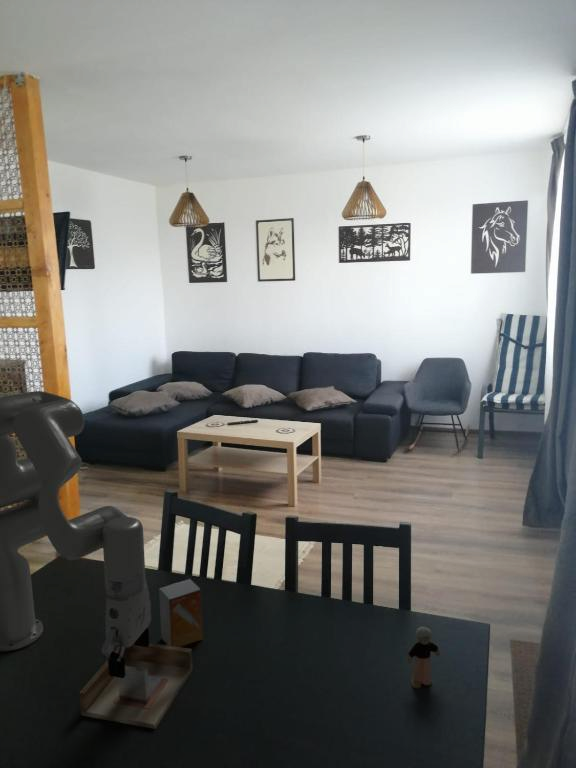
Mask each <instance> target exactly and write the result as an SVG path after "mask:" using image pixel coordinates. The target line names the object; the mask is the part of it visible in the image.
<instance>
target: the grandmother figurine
mask: <svg viewBox="0 0 576 768" xmlns="http://www.w3.org/2000/svg"><path fill="white" fill-rule="evenodd" d="M415 637H416V639H417V640H418V642H416V643H415V644H414V645H413V646H412V648H411V649H410V651H409V652H408V654H407V656H406V658H405V664H410V663H411V661H412V659H413V658H414V662H413V669H412V677H411V681H410V682H411V686H412V688H414V689H420V688H422V685H424V686H432V684H433V682H432V680H431V658H432V657H431V652H432V653H434V655H435V656H436V657H439V656H441V655H440V654H441V653H440V651H439V647H438V645H436V644H435V643H434V642H431V638H432V637H433V632H432V630H431V629H430V628H428V627H426V626H420V627H418V628H417V629H416V631H415Z"/></svg>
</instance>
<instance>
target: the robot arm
mask: <svg viewBox="0 0 576 768" xmlns="http://www.w3.org/2000/svg"><path fill="white" fill-rule="evenodd" d="M85 423H86V422H85V416H84V413H83V411H82V410H81V408H80V407H79V406H78V404H76V403H75V402H74V401H73V400H71V399H69V398H67V397H64V396H61V395H57V394H54V393H50V392H46V391H42V390H37V391H36V390H34V391H28V392H22V393H16V394H12V395H4V396H0V509H1V508H5V509H2V510H0V652H10V651H16V650H18V649H19V650H20V649H22V648H25V647H27V646H29V645H31V644H33V643H34V642H35V641H37V640H38V639H39V638H40V637H41V636H42V633H43V632H44V625H43V623H42V621H41V620H39V619H38V618H36V614H35V605H34V595H33V594H34V593H33V584H32V575H31V568H30V563H29V561H28V560H27V558H26V557H25V556H24V555H22V554H21V553H20V552H19V551H18V550H19V549H20V548H23V547H24V546H26V545H28V544H31V543H33V542H36V541H38V540H41V539H42V538H45V537H47V539H48V540H49V542H50V543H51V545H52V546H53V548H54V549H55V551H56V552H57V554H59V555H60V557H62V558H63V559H65V560H67V561H75V560H79V559H82V558H83V557H86V556H89V555H90V554H92V553H95V552H97V551H99V550H101V549H103V551H102V553H103V564H104V565H103V567H104V581H105V582H104V583H105V593H106V600H105V601H106V602H105V603H106V604H105V636H106V639H105V640H104V642H103V644H102V646H101V653H102V654H103V657H104V658H105V659H106V660H108V666H109V675H110V676H113V677H119V678H124V677H125V660H124V658H122V656H123V653H124V649H125V647H127V648H128V647H130V646H131V645H133V644H134V645H136V646H141V647H148V646H149V643H150V635H149V634H150V630H149V627H150V624H151V622H152V610H151V605H152V599H150V592H149V586H148V583H147V580H146V564H145V563H146V562H145V561H146V560H145V559H146V558H145V545H144V544H145V541H144V528H143V524H142V522H141V521H140V520H139V519H138V518H135V517H131V516H127V515H126V514H125V513H124V512H123V511H121V510H120V509H118V508H117V507H115V506H113V505H105V506H102V507H99V508H97V509H94V510H91V511H88V512H86V513H83V514H81V515H78V516H76V517H73V518H71V519H68V518H67V516H66V515H65V513H64V511H63V510H62V507H61V505H60V500H59V492H60V489H61V488H62V487H64V485H65V484H67V483H68V482H69V481H71V480H72V479H73V477H74V476H76V475H77V473H78V472H79V471H80V470H81V468H82V464H83V460H82V457H81V456H80V455H79V453H78V451H77V450H76V448H75V446H74V445H73V443H72V442H71V440H70V438H72V437H75V436H78V435H80V434H81V433H82V431H83V430H84V427H85ZM13 434H14V435H15V436H16V438H17V440H18V441H19V443H20V445H21V447H22V448H23V450H24V452H25V454H26V455H27V457H25V458H23V459H19V460H18V457H17V448H16V444H15V443H14V441H13V439H12V438H11V437H10V435H13ZM24 501H25V502H24ZM21 502H22V503H21ZM18 503H19V504H18ZM15 504H16V505H15ZM13 505H14V506H13ZM9 506H10V507H9ZM6 507H7V508H6ZM117 639H118V640H119V641H116V640H117ZM115 646H116V647H119V646H120V648H119V651H118V653H115V651H114V649H115Z"/></svg>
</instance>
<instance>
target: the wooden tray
mask: <svg viewBox="0 0 576 768" xmlns="http://www.w3.org/2000/svg"><path fill="white" fill-rule="evenodd" d="M119 648H120V646H117V648H116V649H115V650H114V652H115V653H118V651H119ZM122 658H124V660H125V666H131V667H137V668H142V669H147V672H148V675H150V676H156V677H161V678H163V682H162V684H161V685H160V687H159V688H158V689H157V691H156V692H155V694H154V695H153V696H152V698H151V699H150V701H149V702H148V703H147V705H146V704H140V703H135V702H130V701H124V700H120V697H119V685H118V677H113V676H110V675H109V666H108V659H106V661H105V662H104V663H103V665H102V666H101V667H100V668H99V669H98V670H97V672H96V673H94V674H93V676H92V677H91V679H89V681H87V683H86V684H85V685H84V686H83V688H81V690H80V691H79V693H78V696H79V697H78V698H79V704H80V715H81V716H83V717H89V718H94V719H98V720H106V721H110V722H116V723H121V724H124V725H125V724H127V725H131V726H137V727H143V728H147V729H148V728H149V729H153V730H156V728H157V727H158V726H159V724H160V723H161V721H162V719H163V718H164V716H165V714H167V712H168V710H169V708H170V707H171V706H172V703H173V702H174V700H175V698H176V697H177V696H178V694H179V693H180V691H181V689H182V688H183V686H184V684H185V683H186V682H187V680H188V678H189V677H190V675H191V674H192V672H193V670H194V667H193V666H194V665H193V664H194V662H193V649H192V648H187V647H183V646H182V647H175V646H168V645H167V644H161V643H154V642H149V646H148V647H141V646H136V645H134V644H133V645H131V646H130V647H128V648H127V647H125V649H124V653H123V656H122Z"/></svg>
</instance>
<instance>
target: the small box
mask: <svg viewBox="0 0 576 768" xmlns="http://www.w3.org/2000/svg"><path fill="white" fill-rule="evenodd" d="M158 594H159V596H158V597H159V611H160V631H161V634H160V635H161V639H162V640H163V642H165V645H168V646H175V647H182V648H183V647H185V646H187V645H190V644H193V643H195V642H199V641H202V640H203V617H202V616H203V614H202V613H203V612H202V592H201V588H200V587H199V586H198V585H197V584H196V583H195V582H194V581H193V580H192V579H191V578H188V579H185V580H182V581H179V582H175V583H172V584H169V585H165V586H163V587H159V588H158Z"/></svg>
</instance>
